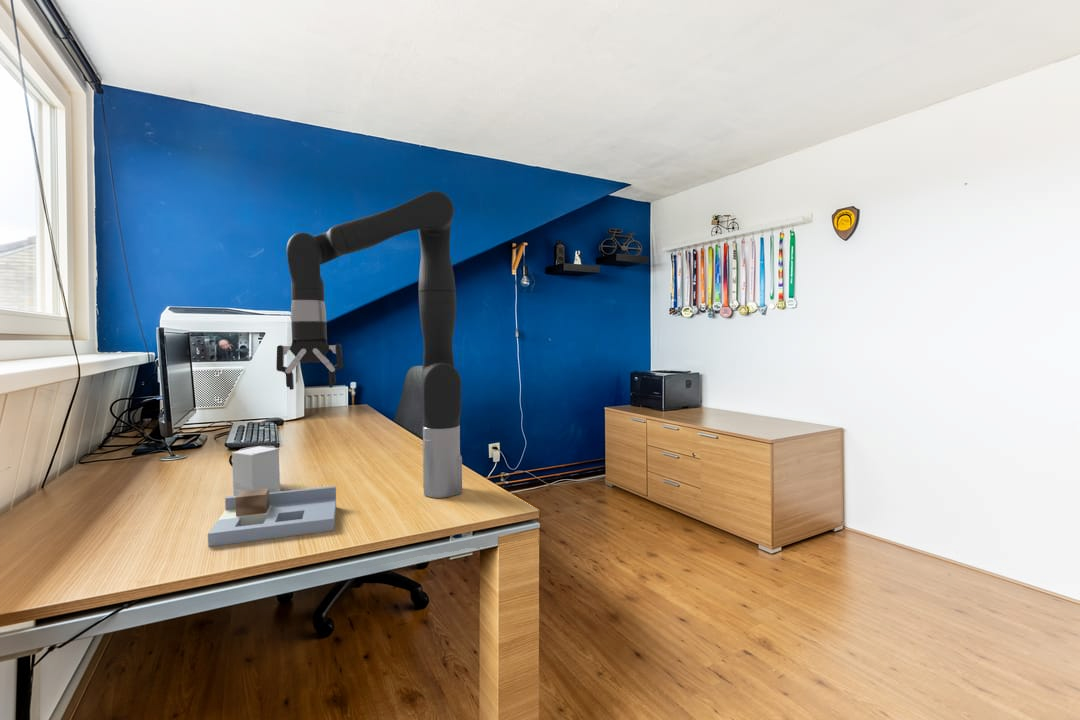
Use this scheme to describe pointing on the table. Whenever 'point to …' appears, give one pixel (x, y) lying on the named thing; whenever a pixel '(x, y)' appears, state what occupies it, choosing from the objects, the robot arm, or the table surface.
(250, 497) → the walnut block
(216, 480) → the table surface
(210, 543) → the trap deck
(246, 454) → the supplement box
